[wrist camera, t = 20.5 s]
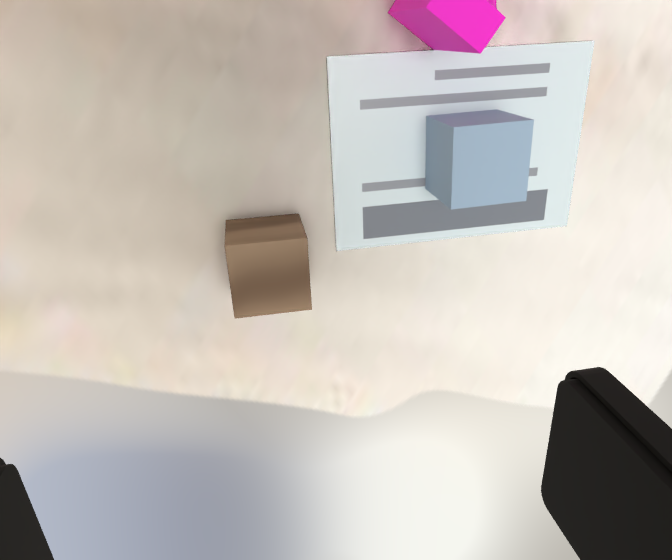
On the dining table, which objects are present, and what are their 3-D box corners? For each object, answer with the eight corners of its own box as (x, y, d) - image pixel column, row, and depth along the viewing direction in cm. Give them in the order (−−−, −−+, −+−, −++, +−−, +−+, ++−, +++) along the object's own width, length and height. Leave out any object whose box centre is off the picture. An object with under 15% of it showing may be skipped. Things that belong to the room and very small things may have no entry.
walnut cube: (225, 219, 36) (224, 245, 32) (298, 213, 37) (307, 238, 32) (234, 285, 38) (234, 318, 34) (303, 277, 39) (311, 309, 35)
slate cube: (426, 115, 35) (453, 127, 31) (497, 109, 36) (534, 119, 31) (425, 188, 37) (451, 209, 33) (492, 181, 38) (526, 200, 34)
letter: (326, 56, 33) (327, 56, 33) (592, 40, 35) (594, 40, 35) (336, 250, 38) (336, 251, 38) (565, 225, 41) (566, 226, 41)
